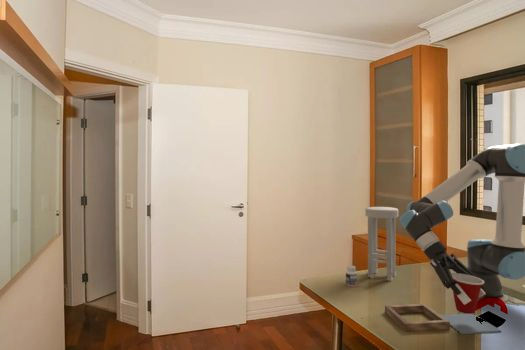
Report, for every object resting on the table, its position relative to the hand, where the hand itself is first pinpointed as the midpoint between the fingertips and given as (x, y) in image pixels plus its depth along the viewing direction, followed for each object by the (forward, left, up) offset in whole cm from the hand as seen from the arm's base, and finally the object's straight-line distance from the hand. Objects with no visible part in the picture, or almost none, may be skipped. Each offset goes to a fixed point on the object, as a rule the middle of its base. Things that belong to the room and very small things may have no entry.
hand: (475, 299), depth 121 cm
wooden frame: (+18, -8, -10) cm, 21 cm away
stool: (+8, -59, -10) cm, 60 cm away
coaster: (+1, -3, -10) cm, 10 cm away
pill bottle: (+28, -48, -10) cm, 56 cm away
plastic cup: (+2, -3, -5) cm, 6 cm away
